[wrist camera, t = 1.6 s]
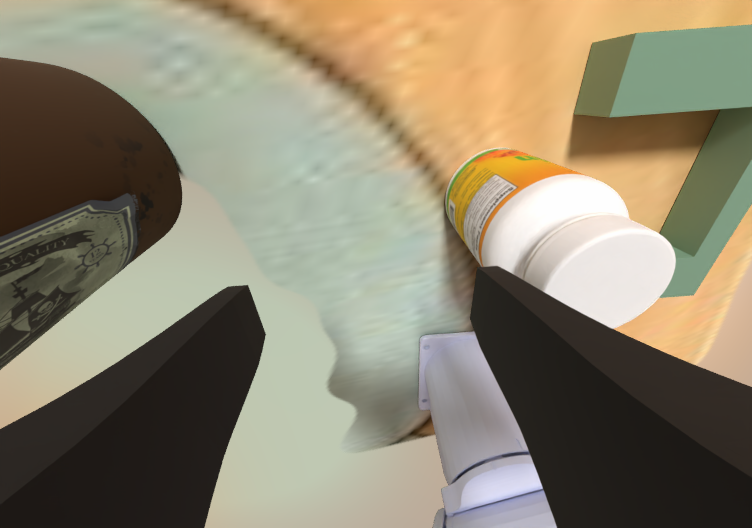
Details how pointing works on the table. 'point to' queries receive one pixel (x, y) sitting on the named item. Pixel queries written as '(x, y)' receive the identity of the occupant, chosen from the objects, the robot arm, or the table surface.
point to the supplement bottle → (559, 234)
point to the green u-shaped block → (682, 94)
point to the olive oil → (72, 194)
